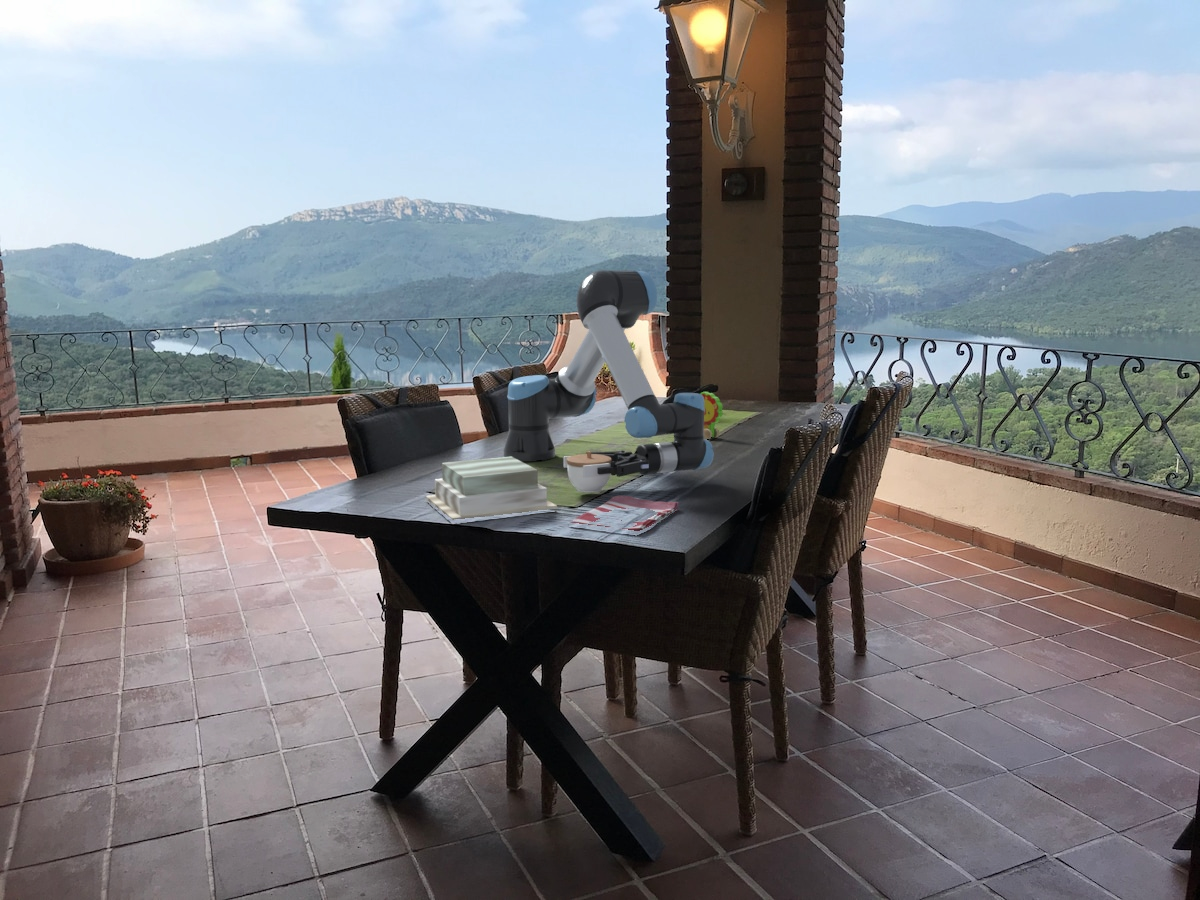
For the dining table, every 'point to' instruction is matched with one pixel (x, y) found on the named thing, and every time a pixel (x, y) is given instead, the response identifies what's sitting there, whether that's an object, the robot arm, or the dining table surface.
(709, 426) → the toy lion
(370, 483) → the dining table surface
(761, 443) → the dining table surface
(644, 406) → the robot arm
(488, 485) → the brick tower
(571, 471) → the lidded jar
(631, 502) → the dish towel
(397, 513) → the dining table surface
